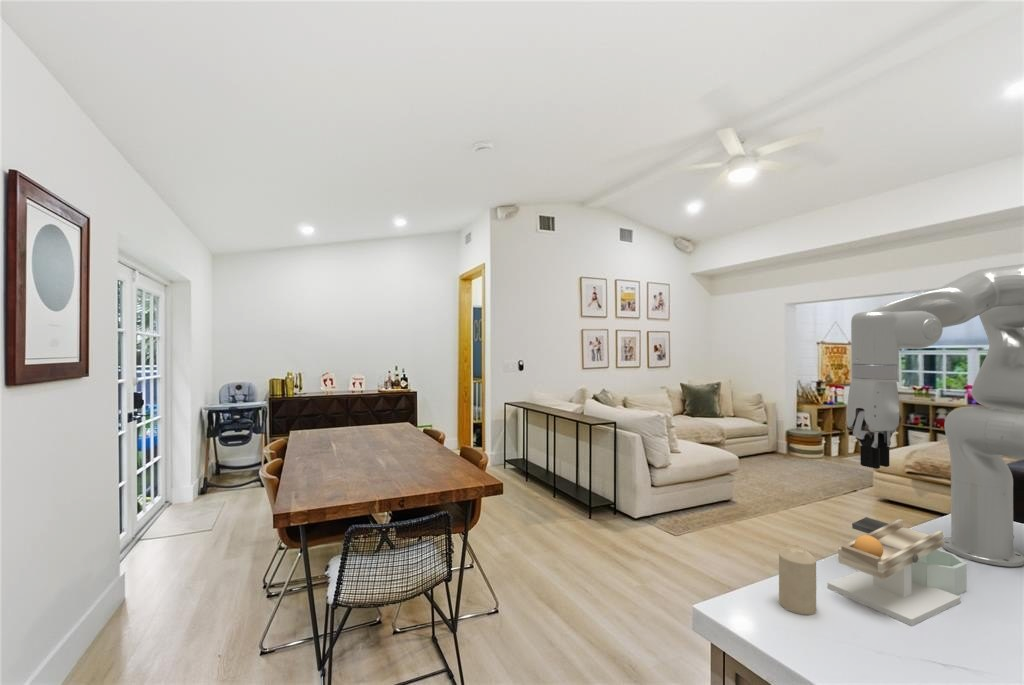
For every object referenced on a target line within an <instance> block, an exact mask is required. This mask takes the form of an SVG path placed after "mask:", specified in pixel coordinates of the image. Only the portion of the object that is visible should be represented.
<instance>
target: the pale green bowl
mask: <svg viewBox="0 0 1024 685" xmlns="http://www.w3.org/2000/svg"><path fill="white" fill-rule="evenodd" d="M967 565H968V564H967V562H965V561H964V560H963V559H961V557H960V556H958V555H956V554H954V553H951V552H950V551H947V550H942V549H940V548H938V549H936V550H935V551H933V552H931V553H929V554H927V555H926V556H924V557H922V558H920V559H919V560H918V561H917V563H914V562H913V563H912V564H911V581H913V582H915V583H918V584H921V585H923V586H927V587H933V588H938V589H941V590H943V591H946V592H949V593H951V594H954V595H957V596H959V595H961V594H964V593H966V592H967V591H968V590H967V588H968V582H967V581H968V579H967V578H968V577H967V576H968V575H967V574H968V573H967V572H968V570H967Z"/></svg>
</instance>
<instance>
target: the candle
mask: <svg viewBox="0 0 1024 685" xmlns="http://www.w3.org/2000/svg"><path fill="white" fill-rule="evenodd" d="M778 602H779V604H780V606H782V608H784V609H785V610H786V611H787V610H788V611H790V612H792V613H795V614H799V615H806V616H808V615H814V614H815V613H816V612H817V560H816V558H815V557H814V556H813V555H812V554H811V552H809V551H807V550H806V549H805V548H803V547H802V546H800V545H799V544H789V545H787V546H786V547H784V548H783V549H781V550H780V551H779V552H778Z"/></svg>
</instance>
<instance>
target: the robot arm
mask: <svg viewBox="0 0 1024 685" xmlns="http://www.w3.org/2000/svg"><path fill="white" fill-rule="evenodd" d="M977 316H979V319H980V322H981V324H982V326H983V329H984V332H985V334H986V338H987V339H988V351H987V353H986V356H985V358H984V360H983V362H982V364H981V366H980V368H979V370H978V372H977V375H976V376H975V378H974V381H973V384H972V387H971V396H972V399H973V400H974V401H975V402H976V403H978V404H979V405H981V406H963V407H958V408H955V409H952V410H951V411H950V412H949V413H947V415H946V417H945V419H944V432H945V438H946V440H947V441H946V442H947V444H948V449H949V455H950V456H949V457H950V496H951V497H950V522H951V523H950V530H951V533H950V536H949V537H943V542H944V545H943V546H942V548H944V549H945V551H947V552H949V553H952V554H955V555H956V556H957V557H960V558H964V559H968V560H971V561H974V562H978V563H982V564H987V565H992V566H997V567H1007V568H1008V567H1011V568H1013V567H1014V568H1015V567H1021V566H1023V565H1024V555H1022V554H1021V553H1019V552H1018V551H1016V550H1014V540H1015V535H1014V477H1013V473H1012V471H1011V469H1010V467H1009V465H1008V464H1007V462H1006V461H1005V460H1004V458H1002V456H1003V457H1009V458H1014V459H1021V460H1024V263H1021V264H1020V263H1019V264H1014V265H1013V264H1012V265H1005V266H995V267H988V268H981V269H978V270H975V271H971V272H969V273H967V274H965V275H963V276H960V277H959V278H957V279H955V280H953V281H951V282H949V283H946V284H945V285H943V286H941V287H938V288H936V289H933V290H929V291H926V292H922V293H918V294H916V295H913V296H909V297H906V298H902V299H899V300H895V301H892V302H889V303H887V304H884V305H881V306H879V307H876V308H874V309H872V310H869V311H863V312H861V311H860V312H858V313H855V314H854V315H853V316H852V317H851V321H850V328H851V329H850V331H851V332H850V341H851V342H850V348H851V352H850V354H851V355H850V356H851V359H850V360H851V364H850V365H851V366H850V367H851V369H850V372H851V373H850V374H851V380H850V384H849V389H848V397H847V407H846V426H847V428H848V429H849V430H852V435H853V436H854V437H855V438H857V439H858V445H859V447H860V448H859V449H860V455H859V456H860V458H859V459H860V460H859V462H860V465H861V466H863V467H867V468H871V469H874V470H875V469H880V468H881V467H885V468H888V467H890V446H891V445H892V444H891V443H892V442H891V441H892V440H891V438H892V435H893V434H894V433H895V432H896V431H897V429H898V427H899V425H900V402H899V401H900V400H899V399H900V398H899V390H898V383H899V382H900V366H899V365H900V351H899V350H900V349H922V348H923V349H924V348H928V347H930V346H933V345H935V343H937V342H938V341H939V340H940V338H941V337H942V334H943V329H944V328H948V327H953V326H958V325H961V324H964V323H967V322H968V321H970V320H972V319H974V318H976V317H977ZM982 406H984V407H982ZM867 429H868V430H867Z"/></svg>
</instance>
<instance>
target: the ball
mask: <svg viewBox="0 0 1024 685" xmlns="http://www.w3.org/2000/svg"><path fill="white" fill-rule="evenodd" d="M855 540H856V541H855V549H858V550H861V551H864V552H866V553H869V554H872V555H875V556H878V557H880V558H881V556H882V555H883V546H882V544H881V543H880V542H879V541H878V540H877V539H876V538H874V537H872V536H869V535H867V534H864V535H859V536H858V537H856V539H855Z"/></svg>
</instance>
